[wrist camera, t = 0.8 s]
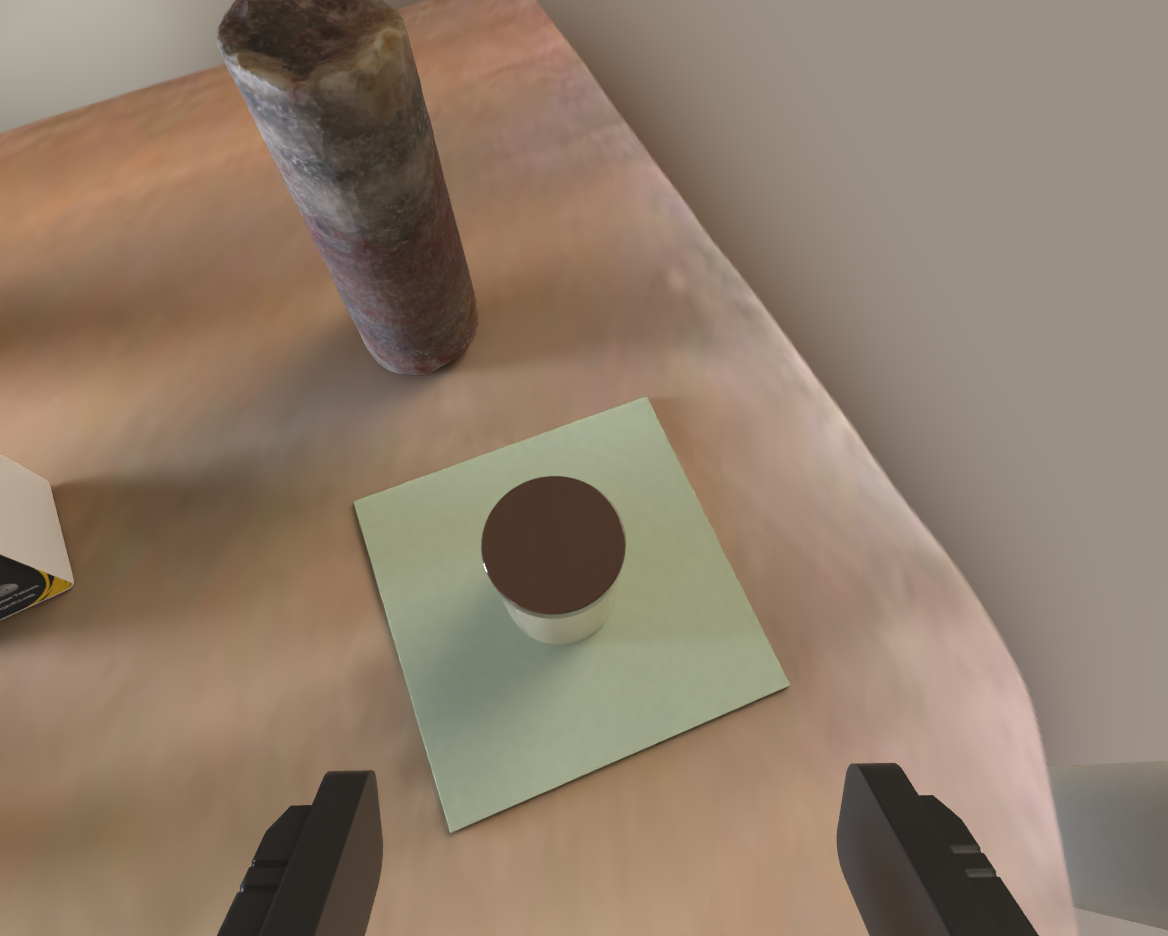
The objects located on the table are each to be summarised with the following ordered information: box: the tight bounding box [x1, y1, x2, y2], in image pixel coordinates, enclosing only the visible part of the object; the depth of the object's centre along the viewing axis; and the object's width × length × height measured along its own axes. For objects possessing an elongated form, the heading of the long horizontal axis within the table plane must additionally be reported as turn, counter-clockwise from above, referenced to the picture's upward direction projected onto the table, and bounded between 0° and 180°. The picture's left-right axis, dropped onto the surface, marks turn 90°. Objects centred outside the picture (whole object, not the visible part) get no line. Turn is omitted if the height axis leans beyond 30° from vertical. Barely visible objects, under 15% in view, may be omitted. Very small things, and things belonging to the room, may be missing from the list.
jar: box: [481, 476, 626, 645], centre depth 35 cm, size 6×6×8 cm
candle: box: [217, 0, 478, 375], centre depth 37 cm, size 8×7×20 cm
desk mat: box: [353, 396, 790, 833], centre depth 39 cm, size 18×18×1 cm
